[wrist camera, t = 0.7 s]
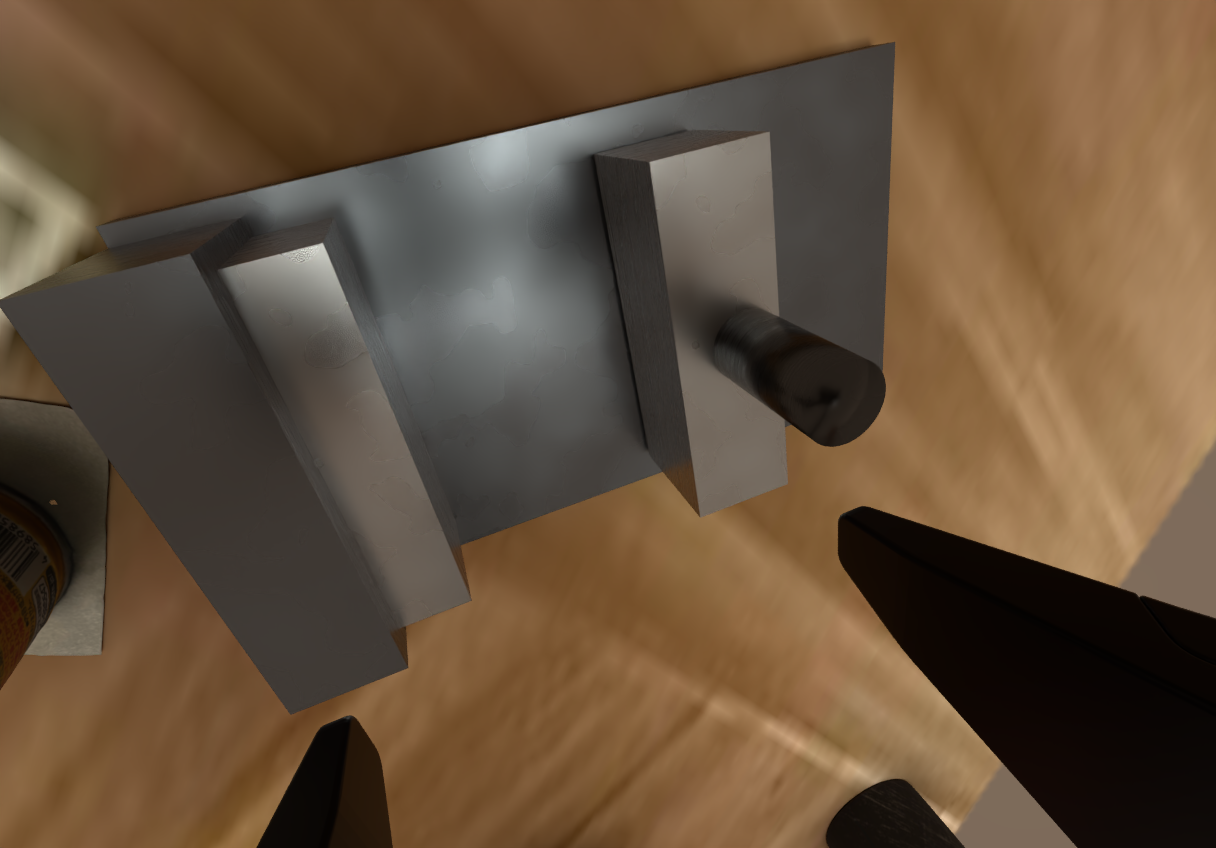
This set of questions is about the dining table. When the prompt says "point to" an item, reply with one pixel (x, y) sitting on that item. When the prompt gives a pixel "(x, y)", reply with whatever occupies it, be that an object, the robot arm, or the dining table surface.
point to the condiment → (50, 534)
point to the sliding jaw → (719, 319)
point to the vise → (422, 352)
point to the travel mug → (889, 821)
